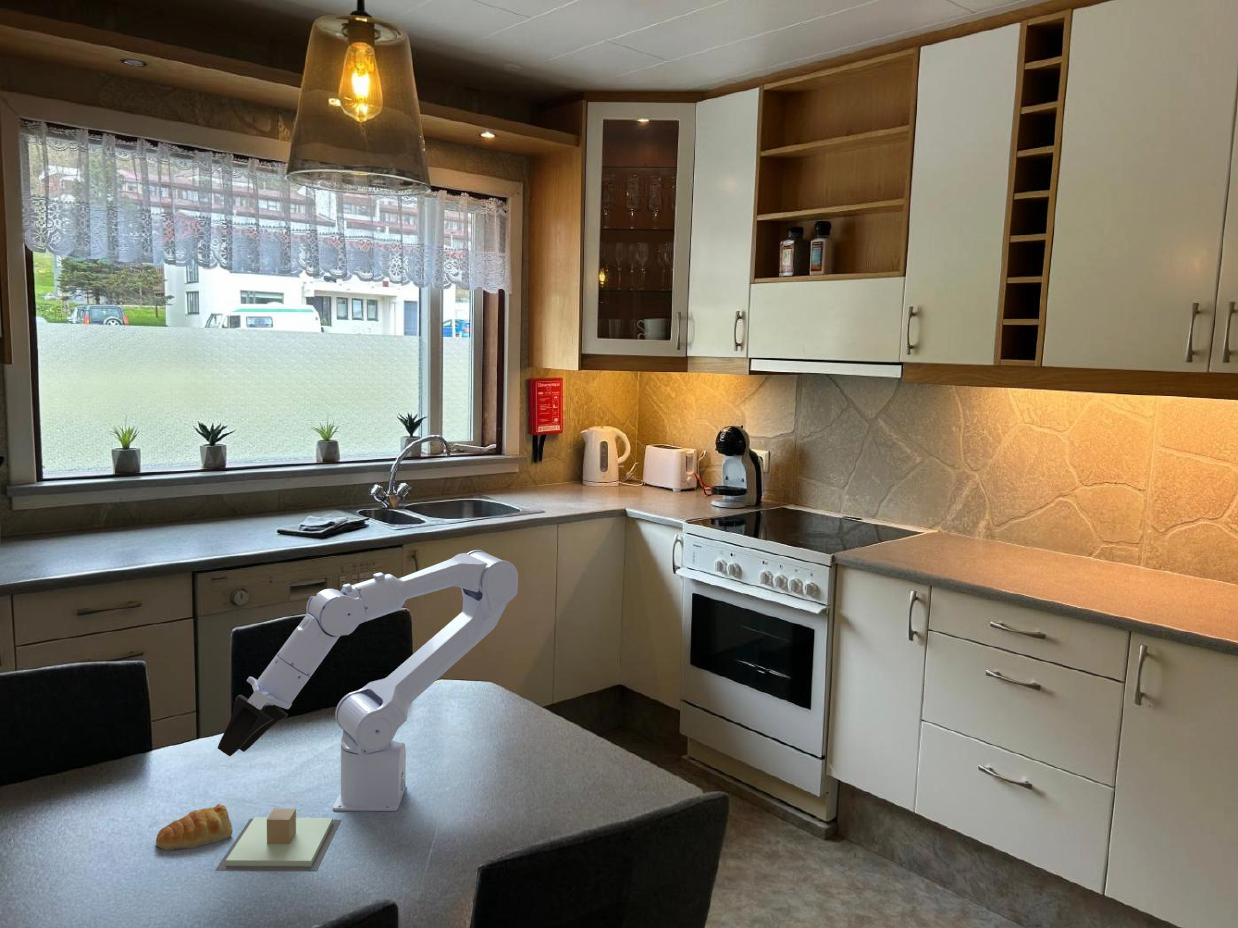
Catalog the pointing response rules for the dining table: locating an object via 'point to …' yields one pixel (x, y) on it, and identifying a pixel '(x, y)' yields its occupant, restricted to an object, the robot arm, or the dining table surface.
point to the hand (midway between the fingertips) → (231, 749)
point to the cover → (280, 840)
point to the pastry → (196, 829)
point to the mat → (314, 866)
